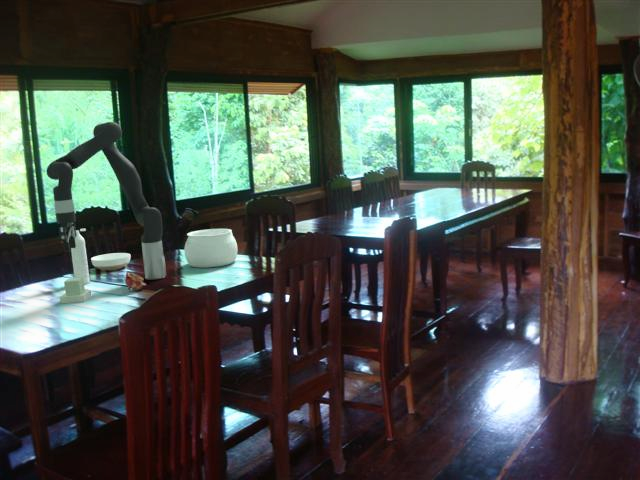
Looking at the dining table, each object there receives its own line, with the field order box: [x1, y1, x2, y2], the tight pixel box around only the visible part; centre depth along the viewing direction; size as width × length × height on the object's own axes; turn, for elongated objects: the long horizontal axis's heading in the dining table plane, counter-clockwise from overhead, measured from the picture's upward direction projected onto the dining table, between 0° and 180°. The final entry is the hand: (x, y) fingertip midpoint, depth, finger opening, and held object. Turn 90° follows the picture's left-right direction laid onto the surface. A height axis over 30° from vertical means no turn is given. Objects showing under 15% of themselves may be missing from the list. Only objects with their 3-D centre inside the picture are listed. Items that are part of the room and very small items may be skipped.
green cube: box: [63, 277, 86, 296], centre depth 286 cm, size 6×6×6 cm
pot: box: [184, 228, 239, 269], centre depth 345 cm, size 29×26×16 cm
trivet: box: [59, 289, 93, 304], centre depth 287 cm, size 10×10×2 cm
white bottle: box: [70, 228, 91, 285], centre depth 317 cm, size 9×6×25 cm
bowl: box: [90, 252, 132, 271], centre depth 350 cm, size 20×20×6 cm
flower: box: [124, 271, 147, 292], centre depth 297 cm, size 10×9×8 cm
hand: (70, 249), depth 283 cm, fingers open, 8 cm apart
